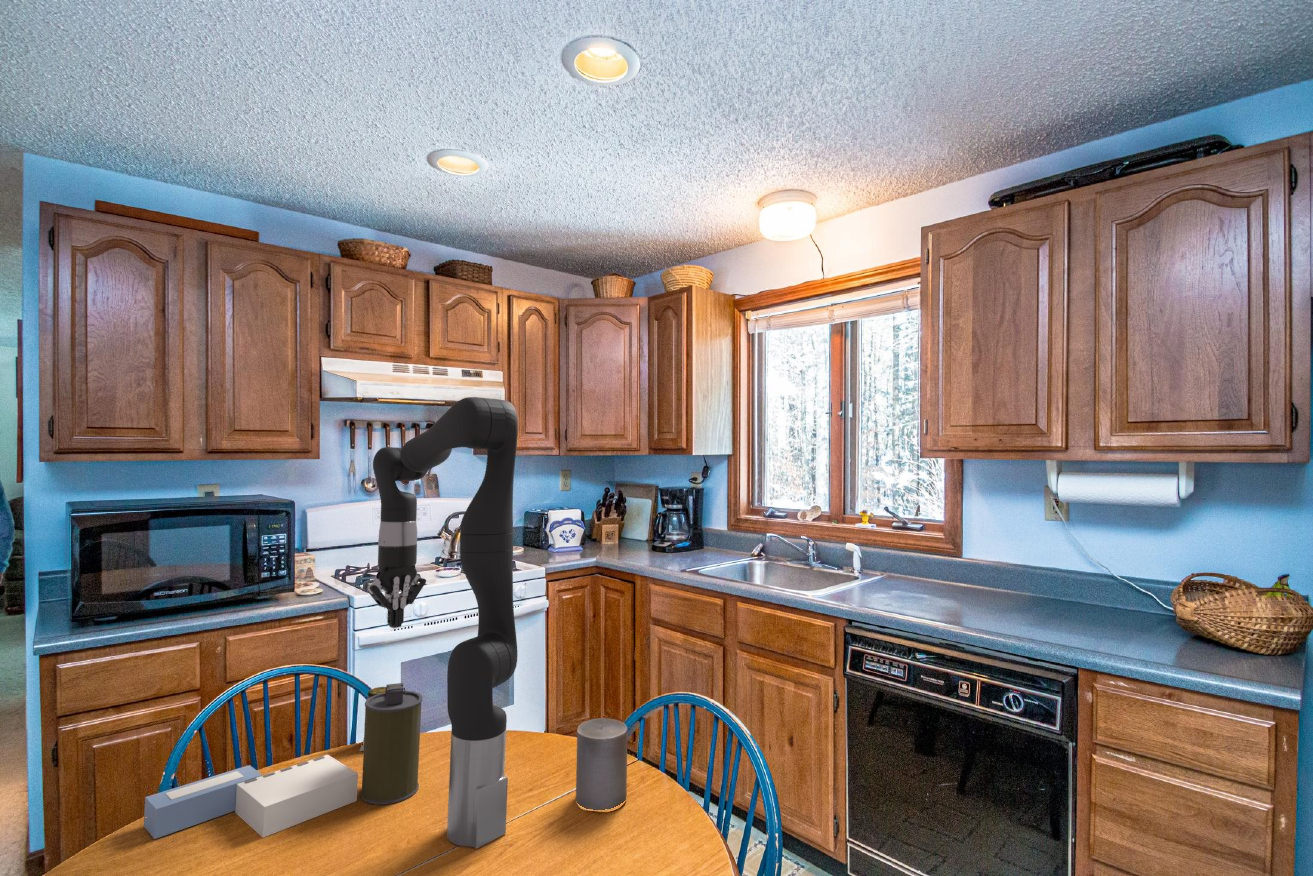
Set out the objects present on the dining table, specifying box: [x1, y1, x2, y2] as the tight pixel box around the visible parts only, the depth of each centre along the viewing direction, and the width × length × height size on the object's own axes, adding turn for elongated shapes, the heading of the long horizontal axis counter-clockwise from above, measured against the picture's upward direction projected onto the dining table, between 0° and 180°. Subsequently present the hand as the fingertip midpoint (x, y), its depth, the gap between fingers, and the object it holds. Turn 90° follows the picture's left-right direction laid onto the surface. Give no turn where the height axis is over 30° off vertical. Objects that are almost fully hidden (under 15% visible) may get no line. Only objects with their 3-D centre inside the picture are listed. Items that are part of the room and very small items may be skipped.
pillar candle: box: [575, 717, 628, 810], centre depth 124 cm, size 10×10×15 cm
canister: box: [359, 682, 424, 806], centre depth 125 cm, size 11×10×20 cm
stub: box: [143, 764, 263, 840], centre depth 115 cm, size 6×16×5 cm, turn 142°
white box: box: [234, 754, 359, 838], centre depth 118 cm, size 12×16×5 cm
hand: (395, 626), depth 134 cm, fingers closed
